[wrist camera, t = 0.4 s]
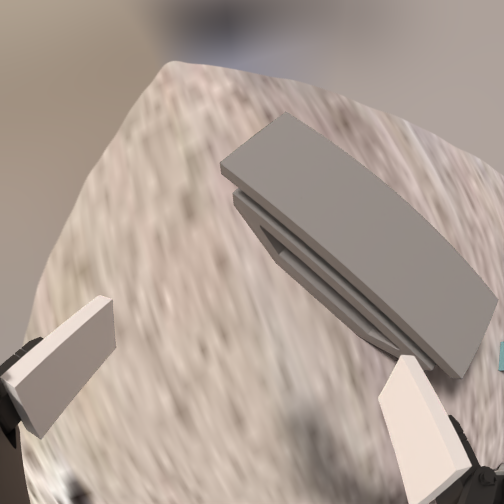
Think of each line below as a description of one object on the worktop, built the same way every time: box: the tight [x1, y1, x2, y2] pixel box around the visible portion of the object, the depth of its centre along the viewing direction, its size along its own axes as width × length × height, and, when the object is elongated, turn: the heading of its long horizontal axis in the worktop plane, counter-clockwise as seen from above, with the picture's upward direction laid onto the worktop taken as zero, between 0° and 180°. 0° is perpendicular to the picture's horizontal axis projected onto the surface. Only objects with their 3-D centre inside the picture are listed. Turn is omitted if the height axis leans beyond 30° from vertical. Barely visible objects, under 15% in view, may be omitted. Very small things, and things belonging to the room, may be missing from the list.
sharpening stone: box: [220, 112, 498, 379], centre depth 24 cm, size 25×8×11 cm, turn 47°
